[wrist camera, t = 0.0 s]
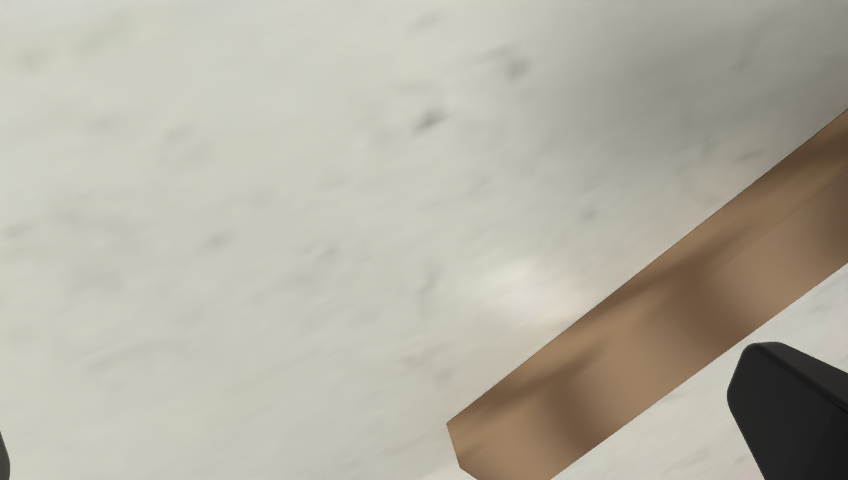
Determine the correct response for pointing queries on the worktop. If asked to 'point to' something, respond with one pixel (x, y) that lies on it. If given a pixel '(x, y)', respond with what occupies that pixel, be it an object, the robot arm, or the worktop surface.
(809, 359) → the robot arm
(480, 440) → the rail
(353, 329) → the worktop surface
